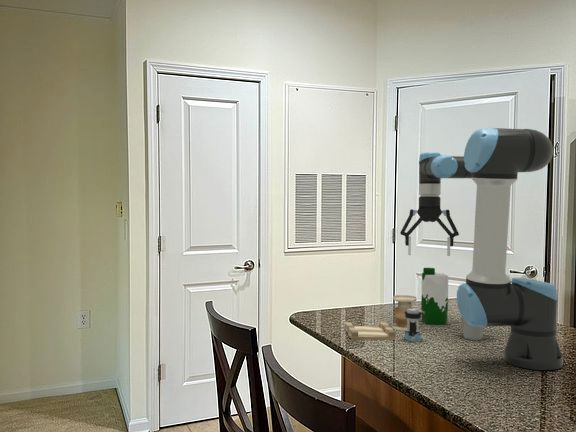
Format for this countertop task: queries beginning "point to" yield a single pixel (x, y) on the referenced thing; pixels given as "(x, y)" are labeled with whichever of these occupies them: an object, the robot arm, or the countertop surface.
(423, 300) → the milk carton
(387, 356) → the countertop surface
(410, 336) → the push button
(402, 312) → the bobbin
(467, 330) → the coffee cup
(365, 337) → the terminal board
